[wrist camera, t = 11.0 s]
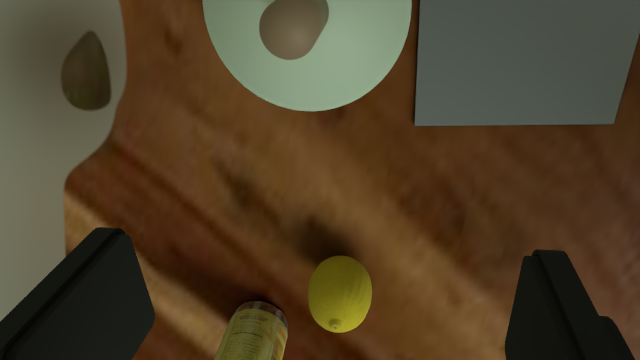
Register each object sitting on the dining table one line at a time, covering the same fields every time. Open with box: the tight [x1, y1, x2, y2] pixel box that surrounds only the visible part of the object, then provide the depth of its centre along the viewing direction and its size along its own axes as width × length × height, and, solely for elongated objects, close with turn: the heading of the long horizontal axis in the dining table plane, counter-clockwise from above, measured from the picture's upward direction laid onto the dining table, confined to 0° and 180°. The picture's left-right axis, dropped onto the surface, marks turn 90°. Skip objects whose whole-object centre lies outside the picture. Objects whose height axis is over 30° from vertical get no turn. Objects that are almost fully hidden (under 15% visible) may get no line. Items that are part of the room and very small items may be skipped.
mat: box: [414, 0, 640, 126], centre depth 29 cm, size 14×14×1 cm
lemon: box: [308, 255, 372, 333], centre depth 38 cm, size 6×6×8 cm
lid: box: [203, 0, 412, 111], centre depth 24 cm, size 12×12×6 cm
